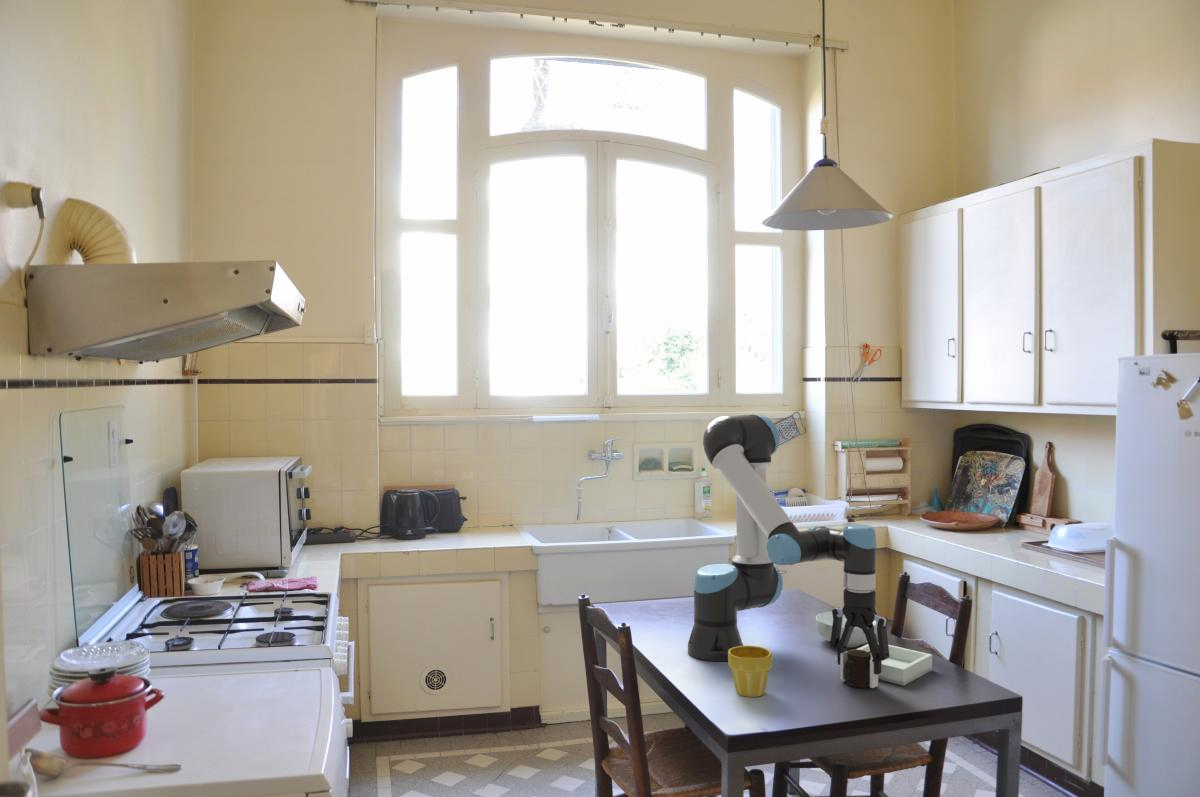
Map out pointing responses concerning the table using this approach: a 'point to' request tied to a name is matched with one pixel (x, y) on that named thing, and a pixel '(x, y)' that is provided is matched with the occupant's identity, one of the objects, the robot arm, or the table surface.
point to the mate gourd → (857, 668)
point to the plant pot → (750, 669)
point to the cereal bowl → (825, 629)
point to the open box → (903, 665)
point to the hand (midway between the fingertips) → (859, 682)
